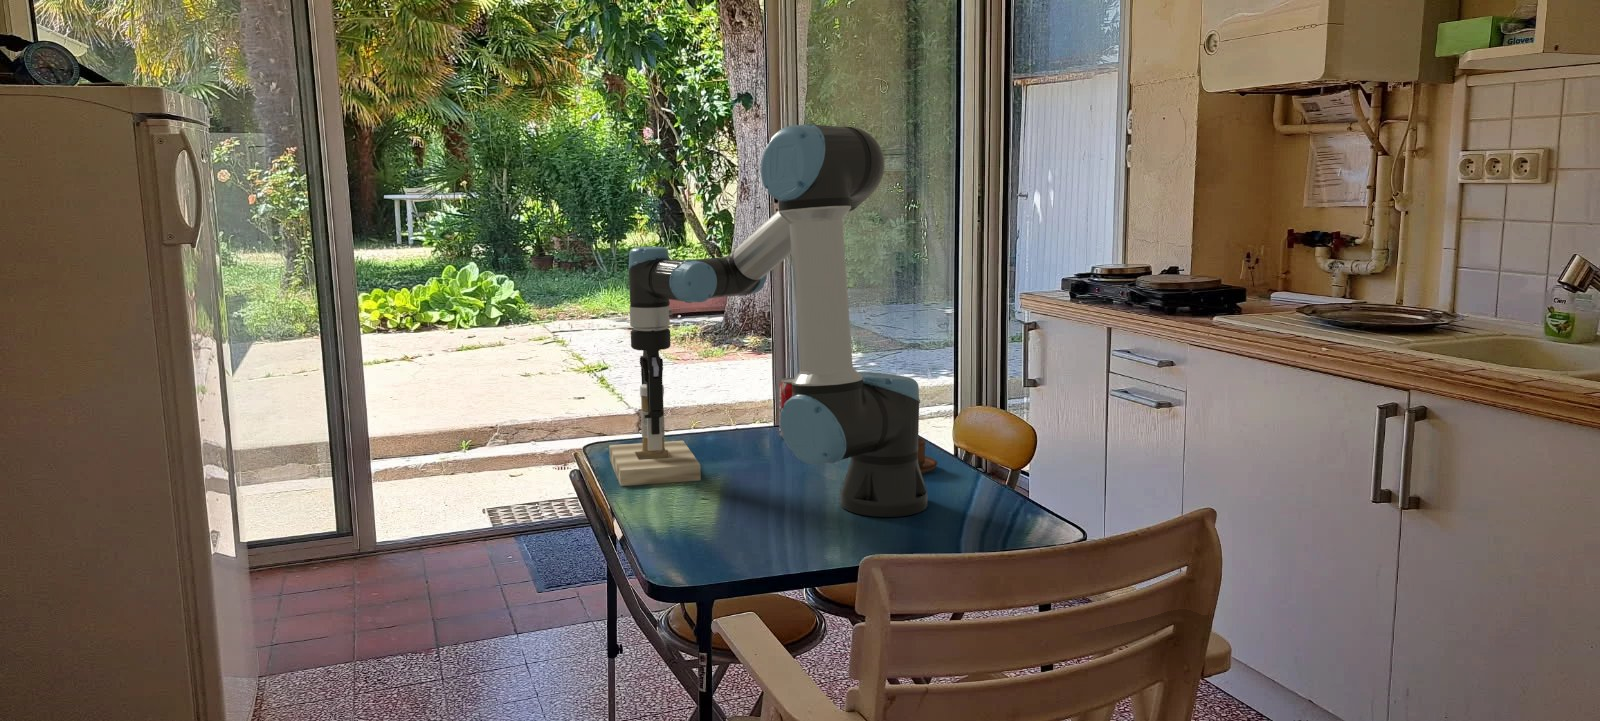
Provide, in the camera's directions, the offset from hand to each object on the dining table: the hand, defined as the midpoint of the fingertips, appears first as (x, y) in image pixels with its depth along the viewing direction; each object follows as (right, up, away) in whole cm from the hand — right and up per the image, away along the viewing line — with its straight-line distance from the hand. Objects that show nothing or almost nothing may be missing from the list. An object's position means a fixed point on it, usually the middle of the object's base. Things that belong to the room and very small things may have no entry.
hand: (653, 446), depth 215 cm
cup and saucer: (+49, -5, 0) cm, 49 cm away
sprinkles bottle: (0, -1, 0) cm, 1 cm away
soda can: (+28, 0, +27) cm, 38 cm away
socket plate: (0, -5, +1) cm, 5 cm away
